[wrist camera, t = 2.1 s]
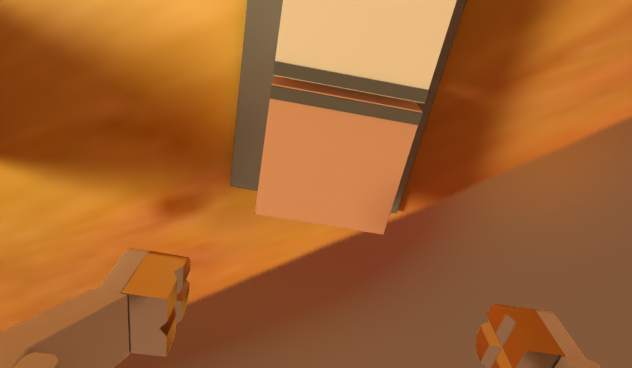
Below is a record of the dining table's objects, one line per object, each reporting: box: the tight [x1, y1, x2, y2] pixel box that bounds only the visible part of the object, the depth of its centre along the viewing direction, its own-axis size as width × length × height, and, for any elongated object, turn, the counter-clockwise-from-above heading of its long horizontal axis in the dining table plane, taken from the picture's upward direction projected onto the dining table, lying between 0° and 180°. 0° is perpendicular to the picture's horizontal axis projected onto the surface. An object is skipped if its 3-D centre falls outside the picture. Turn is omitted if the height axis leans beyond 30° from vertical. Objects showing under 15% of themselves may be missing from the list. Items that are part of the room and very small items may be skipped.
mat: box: [230, 0, 466, 213], centre depth 19 cm, size 21×10×1 cm, turn 170°
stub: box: [255, 76, 423, 234], centre depth 19 cm, size 6×6×5 cm
